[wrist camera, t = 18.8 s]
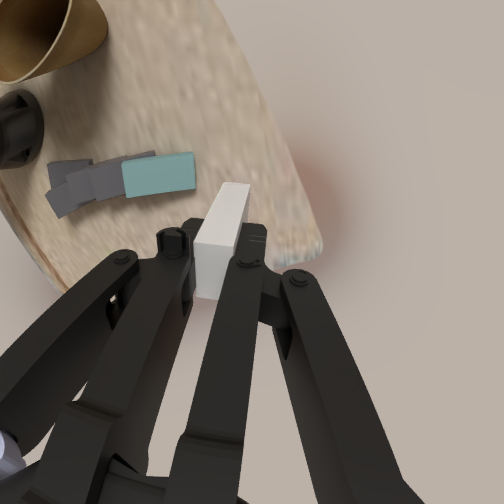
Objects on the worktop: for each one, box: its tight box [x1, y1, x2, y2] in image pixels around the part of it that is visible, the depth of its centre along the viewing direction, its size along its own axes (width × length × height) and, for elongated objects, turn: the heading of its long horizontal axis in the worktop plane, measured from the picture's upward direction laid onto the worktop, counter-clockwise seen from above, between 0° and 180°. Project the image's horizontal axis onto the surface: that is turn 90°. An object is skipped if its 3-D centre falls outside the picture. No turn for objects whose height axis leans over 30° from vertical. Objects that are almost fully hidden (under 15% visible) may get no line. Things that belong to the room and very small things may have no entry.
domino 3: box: [65, 155, 127, 205], centre depth 40 cm, size 2×5×10 cm
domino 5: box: [121, 152, 196, 198], centre depth 39 cm, size 2×5×10 cm
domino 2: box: [45, 180, 96, 219], centre depth 41 cm, size 2×5×10 cm
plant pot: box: [0, 0, 108, 85], centre depth 22 cm, size 15×15×16 cm
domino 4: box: [88, 150, 155, 202], centre depth 39 cm, size 2×5×10 cm
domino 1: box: [47, 159, 93, 189], centre depth 42 cm, size 2×5×10 cm
